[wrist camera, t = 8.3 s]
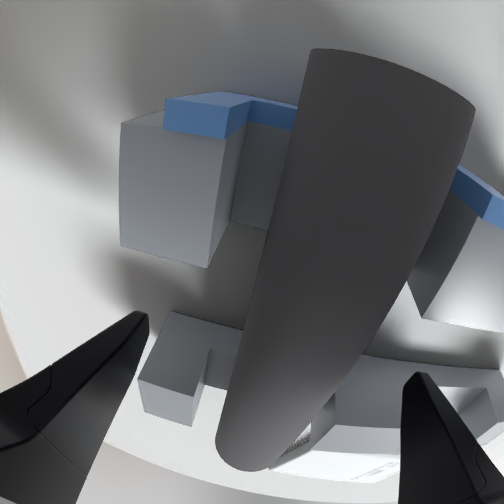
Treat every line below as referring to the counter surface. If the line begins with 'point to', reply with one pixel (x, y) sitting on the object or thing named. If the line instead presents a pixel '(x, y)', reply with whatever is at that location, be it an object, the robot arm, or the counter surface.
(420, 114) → the dark grey cylinder
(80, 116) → the counter surface
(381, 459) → the external hard drive
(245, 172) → the grey blocky pieces
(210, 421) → the counter surface
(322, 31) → the counter surface
